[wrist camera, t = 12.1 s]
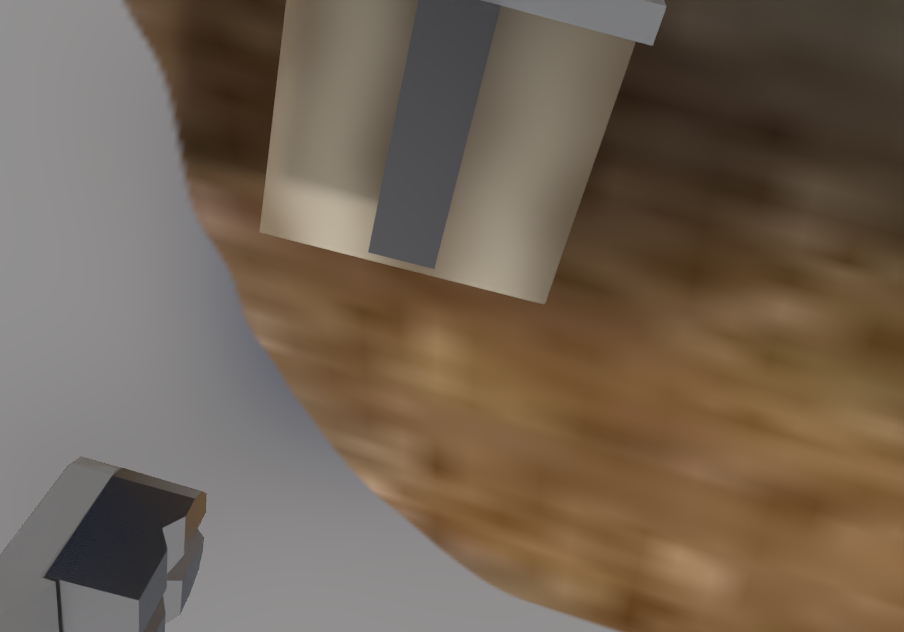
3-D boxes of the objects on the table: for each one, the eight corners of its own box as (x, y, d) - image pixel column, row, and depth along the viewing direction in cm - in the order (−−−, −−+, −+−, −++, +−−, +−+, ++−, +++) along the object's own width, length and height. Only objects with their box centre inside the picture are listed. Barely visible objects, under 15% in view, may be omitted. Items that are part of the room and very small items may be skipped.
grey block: (657, -16, 28) (670, 14, 25) (565, 249, 34) (565, 302, 30) (300, -111, 28) (264, -94, 24) (267, 172, 33) (234, 218, 30)
